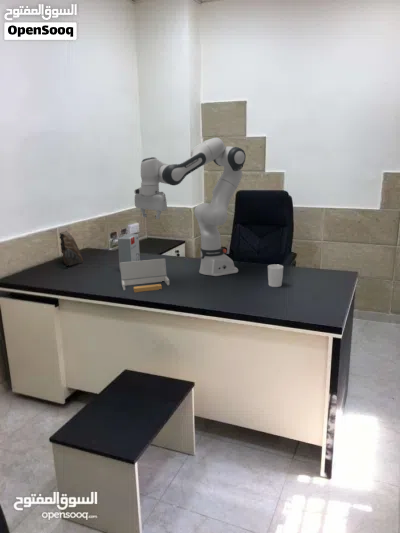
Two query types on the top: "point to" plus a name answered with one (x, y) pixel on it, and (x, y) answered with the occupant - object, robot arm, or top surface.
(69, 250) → the owl
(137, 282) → the duct
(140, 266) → the panel
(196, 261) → the top surface
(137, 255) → the hard drive box
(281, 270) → the white cup
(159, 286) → the wooden block
